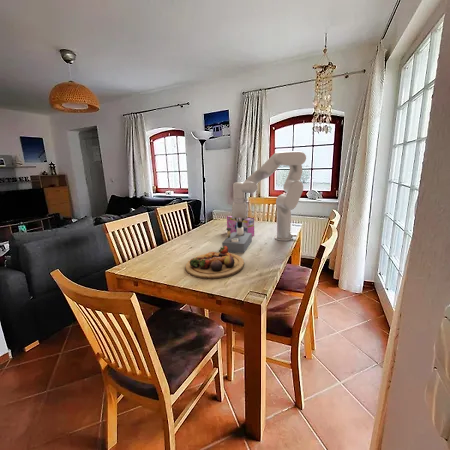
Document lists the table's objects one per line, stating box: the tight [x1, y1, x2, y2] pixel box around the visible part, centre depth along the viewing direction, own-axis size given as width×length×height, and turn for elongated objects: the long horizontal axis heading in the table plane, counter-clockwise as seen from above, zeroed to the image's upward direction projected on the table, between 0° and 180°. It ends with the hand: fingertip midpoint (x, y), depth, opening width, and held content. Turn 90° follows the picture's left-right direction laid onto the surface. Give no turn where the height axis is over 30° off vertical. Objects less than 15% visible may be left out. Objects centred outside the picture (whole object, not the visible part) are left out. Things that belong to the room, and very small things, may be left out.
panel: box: [221, 232, 253, 254], centre depth 164 cm, size 14×24×6 cm, turn 163°
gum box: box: [226, 214, 255, 237], centre depth 192 cm, size 24×8×14 cm, turn 43°
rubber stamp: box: [226, 227, 231, 238], centre depth 165 cm, size 3×3×6 cm
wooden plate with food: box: [185, 246, 245, 280], centre depth 134 cm, size 32×32×8 cm
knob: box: [237, 227, 244, 236], centre depth 170 cm, size 4×4×7 cm
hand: (239, 227), depth 169 cm, fingers closed
